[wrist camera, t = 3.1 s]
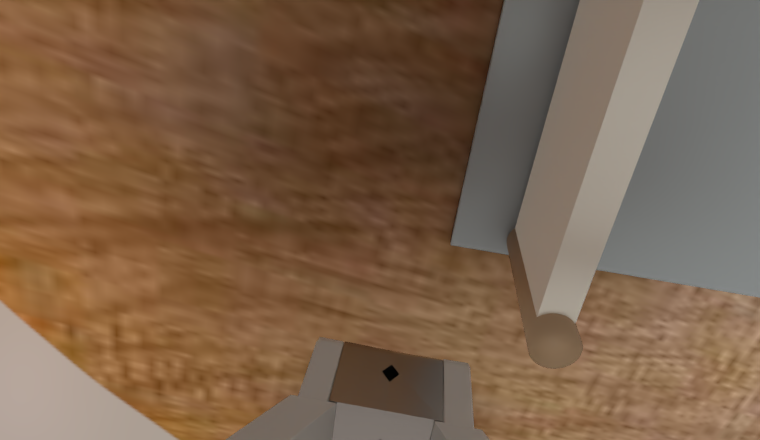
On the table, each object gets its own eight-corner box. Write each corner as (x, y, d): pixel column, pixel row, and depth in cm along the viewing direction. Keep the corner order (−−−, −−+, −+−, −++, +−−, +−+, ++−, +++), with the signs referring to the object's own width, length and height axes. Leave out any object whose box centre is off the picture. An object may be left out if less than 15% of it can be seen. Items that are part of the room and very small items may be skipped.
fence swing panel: (584, -39, 17) (657, -34, 11) (633, -32, 17) (733, -23, 11) (502, 254, 22) (522, 363, 16) (540, 260, 22) (573, 372, 16)
